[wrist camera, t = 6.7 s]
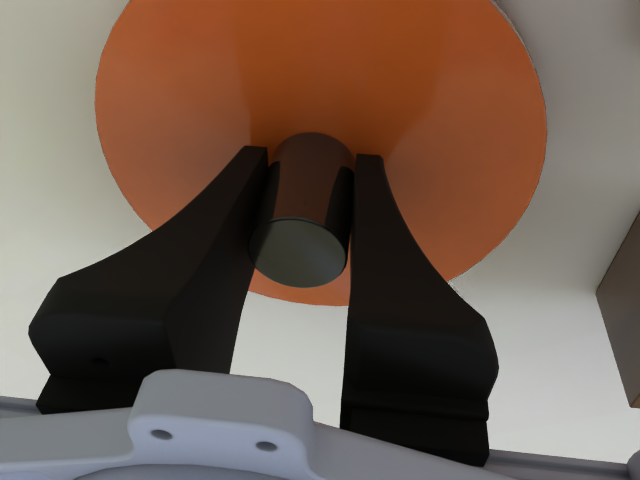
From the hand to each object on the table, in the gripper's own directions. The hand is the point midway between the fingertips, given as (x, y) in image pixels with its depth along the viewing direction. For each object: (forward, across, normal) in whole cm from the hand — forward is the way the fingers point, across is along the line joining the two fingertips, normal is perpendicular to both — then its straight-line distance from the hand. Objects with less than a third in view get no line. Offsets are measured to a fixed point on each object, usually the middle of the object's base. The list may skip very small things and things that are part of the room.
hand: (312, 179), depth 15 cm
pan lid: (+1, 0, 0) cm, 1 cm away
